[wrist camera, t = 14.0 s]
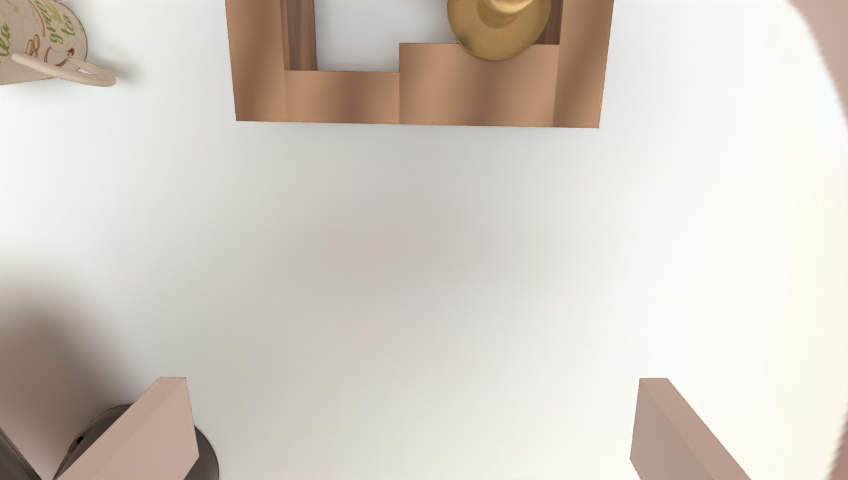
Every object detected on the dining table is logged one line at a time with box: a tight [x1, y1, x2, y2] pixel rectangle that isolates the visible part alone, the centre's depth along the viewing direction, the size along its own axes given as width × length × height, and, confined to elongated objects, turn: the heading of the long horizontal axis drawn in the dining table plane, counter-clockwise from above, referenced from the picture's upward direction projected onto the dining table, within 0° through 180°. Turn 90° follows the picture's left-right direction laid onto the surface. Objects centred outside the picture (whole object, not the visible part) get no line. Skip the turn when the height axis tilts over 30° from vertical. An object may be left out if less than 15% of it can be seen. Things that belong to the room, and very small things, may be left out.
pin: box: [447, 0, 551, 61], centre depth 27 cm, size 6×6×16 cm
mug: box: [0, 0, 116, 87], centre depth 36 cm, size 8×13×10 cm, turn 67°
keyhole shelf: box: [225, 0, 614, 128], centre depth 34 cm, size 24×14×9 cm, turn 89°
